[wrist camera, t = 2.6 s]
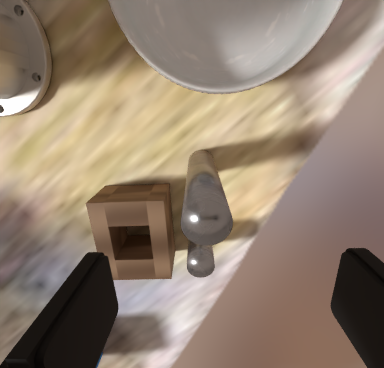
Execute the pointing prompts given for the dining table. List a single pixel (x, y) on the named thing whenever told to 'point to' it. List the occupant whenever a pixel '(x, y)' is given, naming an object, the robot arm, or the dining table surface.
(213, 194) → the long steel pin
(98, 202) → the walnut hole block
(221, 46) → the cereal bowl
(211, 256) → the short steel pin
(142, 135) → the dining table surface
